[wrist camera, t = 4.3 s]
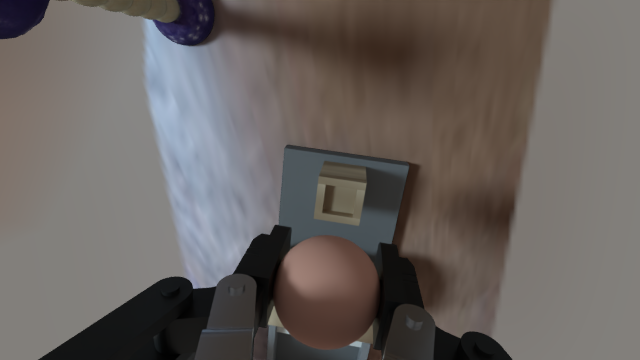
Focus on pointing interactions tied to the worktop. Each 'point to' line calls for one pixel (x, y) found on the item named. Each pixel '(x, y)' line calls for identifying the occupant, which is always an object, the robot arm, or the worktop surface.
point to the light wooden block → (340, 193)
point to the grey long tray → (335, 227)
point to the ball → (326, 292)
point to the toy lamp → (151, 3)
